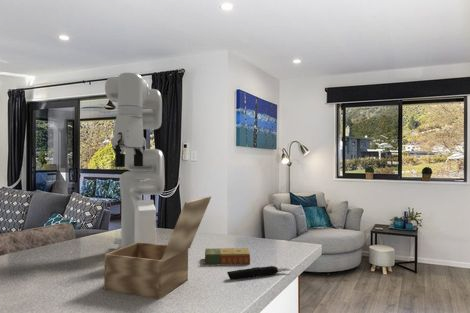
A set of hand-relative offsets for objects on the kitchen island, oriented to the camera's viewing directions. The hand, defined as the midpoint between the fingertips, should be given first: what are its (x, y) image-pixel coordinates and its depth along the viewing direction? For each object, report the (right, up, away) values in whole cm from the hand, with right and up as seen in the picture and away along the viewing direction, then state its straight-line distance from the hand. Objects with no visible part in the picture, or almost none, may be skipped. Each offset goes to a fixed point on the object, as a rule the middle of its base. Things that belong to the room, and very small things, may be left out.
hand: (129, 166), depth 118 cm
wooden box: (+8, -34, -9) cm, 37 cm away
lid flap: (+20, -16, -13) cm, 29 cm away
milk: (+1, -35, +14) cm, 37 cm away
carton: (+31, -35, +16) cm, 49 cm away
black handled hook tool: (+42, -35, -1) cm, 54 cm away
